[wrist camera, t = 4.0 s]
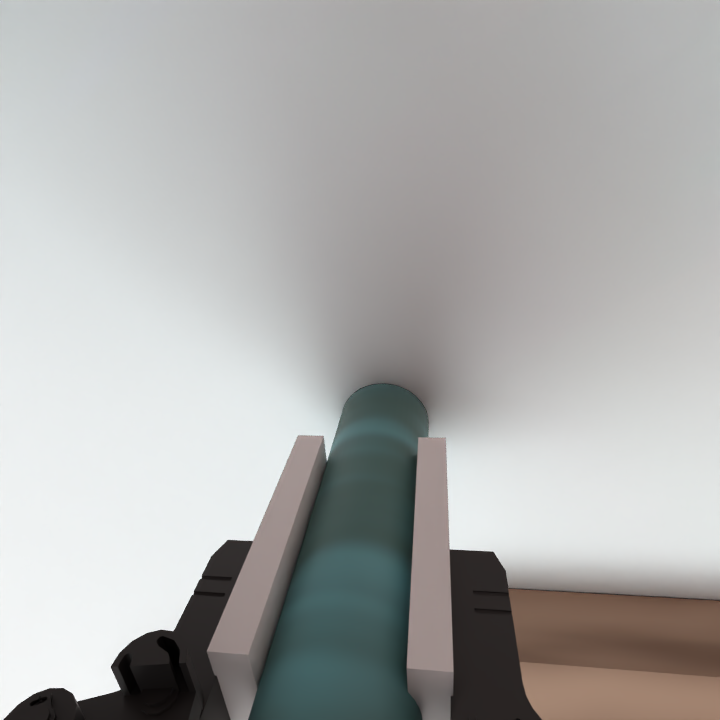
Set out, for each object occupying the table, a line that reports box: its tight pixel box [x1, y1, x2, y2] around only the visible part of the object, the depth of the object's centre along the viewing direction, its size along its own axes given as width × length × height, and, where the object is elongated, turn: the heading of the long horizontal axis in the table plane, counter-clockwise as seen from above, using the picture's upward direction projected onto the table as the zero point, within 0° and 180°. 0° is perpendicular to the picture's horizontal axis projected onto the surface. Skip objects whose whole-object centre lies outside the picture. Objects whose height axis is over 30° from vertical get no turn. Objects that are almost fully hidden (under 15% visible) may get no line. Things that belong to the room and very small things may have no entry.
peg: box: [248, 384, 428, 720], centre depth 11 cm, size 3×3×14 cm
